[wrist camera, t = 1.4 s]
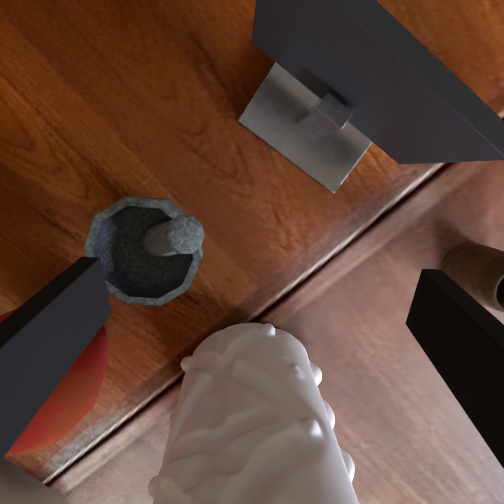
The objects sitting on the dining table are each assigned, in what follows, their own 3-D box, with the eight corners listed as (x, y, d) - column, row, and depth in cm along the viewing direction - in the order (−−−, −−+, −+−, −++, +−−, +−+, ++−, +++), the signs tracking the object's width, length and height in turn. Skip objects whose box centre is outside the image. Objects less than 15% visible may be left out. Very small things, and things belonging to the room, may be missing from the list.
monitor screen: (260, 26, 23) (280, -95, 13) (409, 152, 26) (526, 138, 16) (251, 42, 23) (262, -64, 13) (399, 164, 26) (508, 160, 16)
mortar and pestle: (150, 294, 34) (105, 358, 22) (97, 223, 31) (16, 253, 20) (235, 244, 33) (235, 283, 21) (188, 167, 30) (158, 164, 19)
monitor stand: (285, 47, 28) (305, -4, 20) (380, 126, 30) (433, 110, 22) (237, 122, 30) (237, 103, 21) (331, 193, 32) (364, 200, 24)
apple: (123, 275, 33) (43, 348, 19) (139, 369, 36) (81, 488, 23) (8, 283, 33) (-155, 364, 19) (35, 377, 36) (-88, 504, 22)
